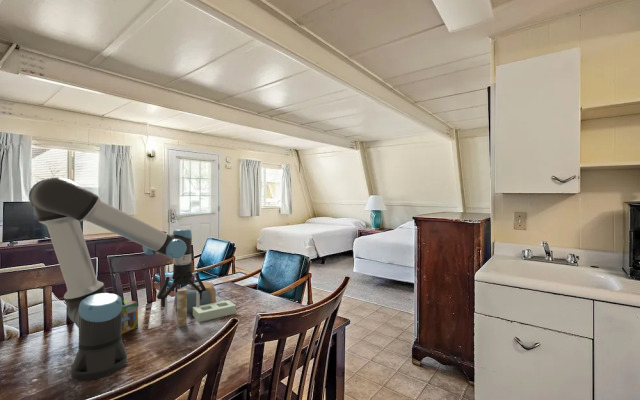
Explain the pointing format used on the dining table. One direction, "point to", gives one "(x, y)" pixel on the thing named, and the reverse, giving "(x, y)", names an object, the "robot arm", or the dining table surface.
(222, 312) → the socket block
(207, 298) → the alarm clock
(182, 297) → the peg
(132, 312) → the chalk box
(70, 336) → the dining table surface
